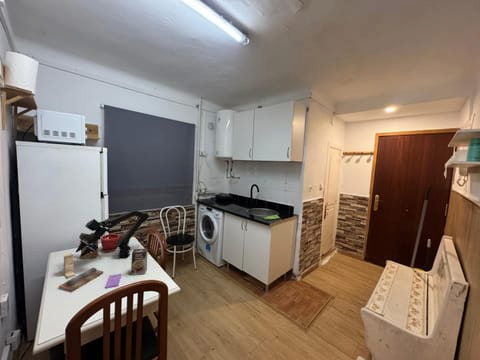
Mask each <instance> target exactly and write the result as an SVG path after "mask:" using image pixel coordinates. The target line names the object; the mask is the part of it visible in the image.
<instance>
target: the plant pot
mask: <svg viewBox="0 0 480 360" xmlns="http://www.w3.org/2000/svg"><path fill="white" fill-rule="evenodd" d="M120 237H121V236H120V234H116V233H110V234H109V233H108V234H104V235H103V236H102V237H101V239H100V245H101V252H103V253H113V252H115V251H116V250H117V249H119V247H118V246H117V241H118V240H119V239H120Z"/></svg>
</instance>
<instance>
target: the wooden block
mask: <svg viewBox="0 0 480 360" xmlns="http://www.w3.org/2000/svg"><path fill="white" fill-rule="evenodd" d="M96 245H97V246H98V247H99V240H98V241H97V242H96ZM85 249H86V247H85V248H83V249H82V250H80V254H79V259H80V260H84V259H85V260H86V259H96V258H98V256H99V248H98V249H97V250H95V251H92V252H90V253H88V254H86V255H84V256H82V257H80V255H81V254H82V252H83V251H84V250H85Z"/></svg>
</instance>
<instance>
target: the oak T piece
mask: <svg viewBox="0 0 480 360" xmlns="http://www.w3.org/2000/svg"><path fill="white" fill-rule="evenodd" d="M61 272H62V273H63V274H64V276H65V277H66V279H68V280H69V279H72V278H74V277H76V273H75V272H74V254H73V252H71V253H70V252H69V253H66V254H63V268H62V270H61Z"/></svg>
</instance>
